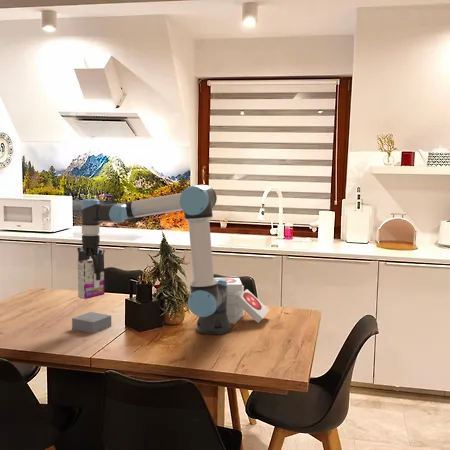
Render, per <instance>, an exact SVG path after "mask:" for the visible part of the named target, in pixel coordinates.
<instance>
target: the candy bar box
mask: <svg viewBox="0 0 450 450" xmlns="http://www.w3.org/2000/svg"><path fill="white" fill-rule="evenodd" d="M94 273H95V269H94V264H93V260H92V258H89V259H87V260H82V261H78V260H77V291H78V293H77V295H78V296H77V298H79V299H83V300H87V299H91V298H97V297H100V296H103V295H105V270H104V271H103V272H101V273H100V280H99V287H98V288H94Z"/></svg>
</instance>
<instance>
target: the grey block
mask: <svg viewBox="0 0 450 450" xmlns="http://www.w3.org/2000/svg"><path fill="white" fill-rule="evenodd" d="M111 327H112V315H111V314H110V315H109V314H105V313H98V312H94V311H89V312H86V313H84V314H80V315H78V316H75V317H72V318H71V330H74V331H79V332H82V333H89V334H96V333H98V332H101V331H103V330H105V329H106V330H107V329H109V328H111Z"/></svg>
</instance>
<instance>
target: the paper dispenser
mask: <svg viewBox="0 0 450 450" xmlns="http://www.w3.org/2000/svg"><path fill="white" fill-rule="evenodd" d="M216 278H217V279H224V280H226V281H227V286H228V287H227V315H228V318H229V322H230V324H233V325H235V324H236V323H238V321H240V319H241V318H242V317H243V316H244V311H245V312H246V313H247V314H248V315H249V316H250V317H251V318H252V319H253V320H254V321H255V323H256V322H257V323H258V324H259V323H260V322H261V321H262V320H263V319H264V318H265V316H266V315H267V314H268V313H269V312H270V309H269V308H268V307H267V306H266V305H265V304H264V303H263V302H261V300H259V298H257V297H256V296H255V295H254V294H253V293H252V292H251V291H250V290H249V289H247V288H246V289H245V285H243V283H242V281H241V279H240V277H216Z"/></svg>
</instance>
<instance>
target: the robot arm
mask: <svg viewBox="0 0 450 450" xmlns="http://www.w3.org/2000/svg"><path fill="white" fill-rule="evenodd" d="M217 199H218V197H217V193H216V191H215V189H214V188H213V187H212V186H210V185H207V184H193V185H190V186H188V187H187V188H185V189H184V190H183V191H182V192H180V193H174V194H168V195H161V196H155V197H150V198H142V199H139V200H138V199H137V200H132V201H124V202H121V203H113V204H106V203H105V204H103V203H101V202H100V200H99V199H96V198H84V199H82V201H81V208H80V210H81V234H82V235H81V244H82V246H78V247H77V253H78V254H77V255H78V256H77V259H78V260H77V262H78V261H82V260H87V259H92V260H93V264H94V269H95V273H94V288H98V287H99V280H100V273H101V272H103V271H104V272H105V252H106V249H103V248H102V249H101V248H100V245H99V244H100V241H101V239H100V236H101V235H100V223H101V222H105V223H115V224H116V223H124V222H125V220H129V219H135V218H141V217H148V216H153V215H160V214H166V213H167V214H169V213H173V212H180V211H183V214H184V215H183V217H184V220H185V221H186V222H187V223H188V233H189V234H188V235H189V242H190V244H189V245H190V246H189V247H190V256H191V268H192V281H191V282H190V284H189V291H190V294H189V296H188V299H187V306H188V309H189V310H190V312H191V313H192V314H193V315H195V316H196V317H198V319H197V322H196V331H197V332H199V333H201V334H204V335H205V334H206V335H223V334H227V333H229V332H230V331H231V323H230V322H229V318H228V315H227V287H228V286H227V281H226V280H224V279H217V278H218V277H215V276H214V264H213V251H212V250H213V249H212V240H211V239H212V237H211V227H210V225H211V224H210V221H211V220H212V219H213V217H214V216H213V209H214V207H215V205H216V204H217V202H218V201H217Z"/></svg>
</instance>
